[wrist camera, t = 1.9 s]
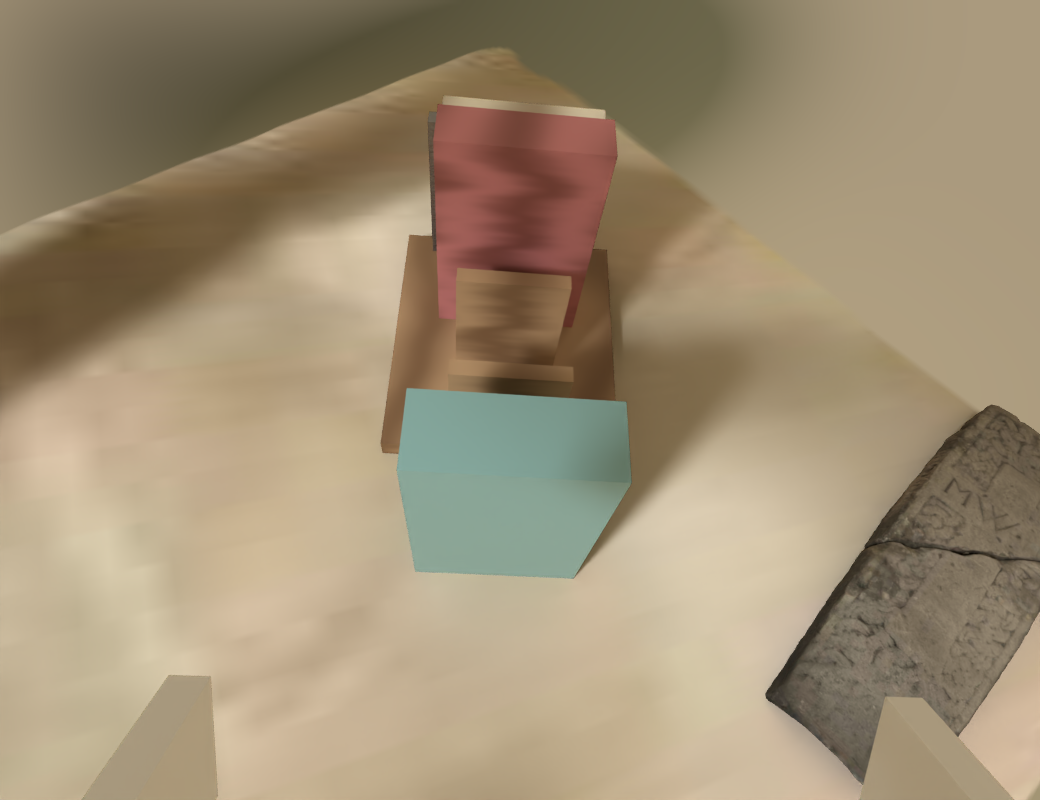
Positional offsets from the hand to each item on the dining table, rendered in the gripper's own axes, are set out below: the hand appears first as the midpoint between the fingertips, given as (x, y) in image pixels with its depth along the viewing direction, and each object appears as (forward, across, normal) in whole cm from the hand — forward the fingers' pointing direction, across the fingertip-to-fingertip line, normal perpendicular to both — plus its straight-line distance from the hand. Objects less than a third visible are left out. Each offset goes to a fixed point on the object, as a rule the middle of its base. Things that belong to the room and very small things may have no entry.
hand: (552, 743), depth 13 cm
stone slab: (+28, +30, -12) cm, 43 cm away
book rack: (+40, 0, +1) cm, 40 cm away
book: (+28, 0, -10) cm, 30 cm away
